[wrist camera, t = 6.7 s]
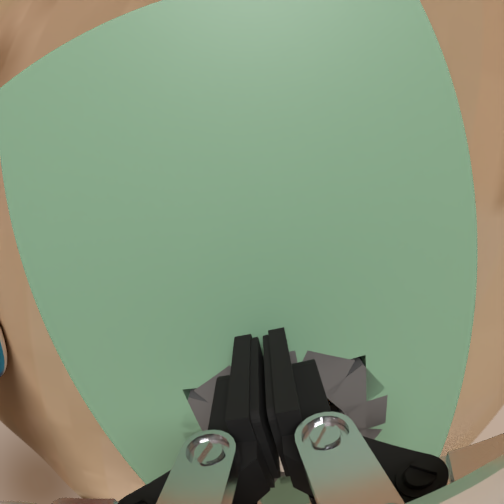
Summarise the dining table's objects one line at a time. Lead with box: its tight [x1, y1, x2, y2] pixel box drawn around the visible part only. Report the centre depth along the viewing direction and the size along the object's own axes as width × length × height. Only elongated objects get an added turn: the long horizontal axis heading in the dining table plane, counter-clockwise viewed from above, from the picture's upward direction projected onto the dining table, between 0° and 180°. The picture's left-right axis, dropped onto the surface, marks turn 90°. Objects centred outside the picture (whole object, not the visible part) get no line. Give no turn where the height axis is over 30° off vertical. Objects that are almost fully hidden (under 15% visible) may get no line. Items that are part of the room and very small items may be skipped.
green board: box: [0, 0, 477, 504], centre depth 11 cm, size 26×18×2 cm
